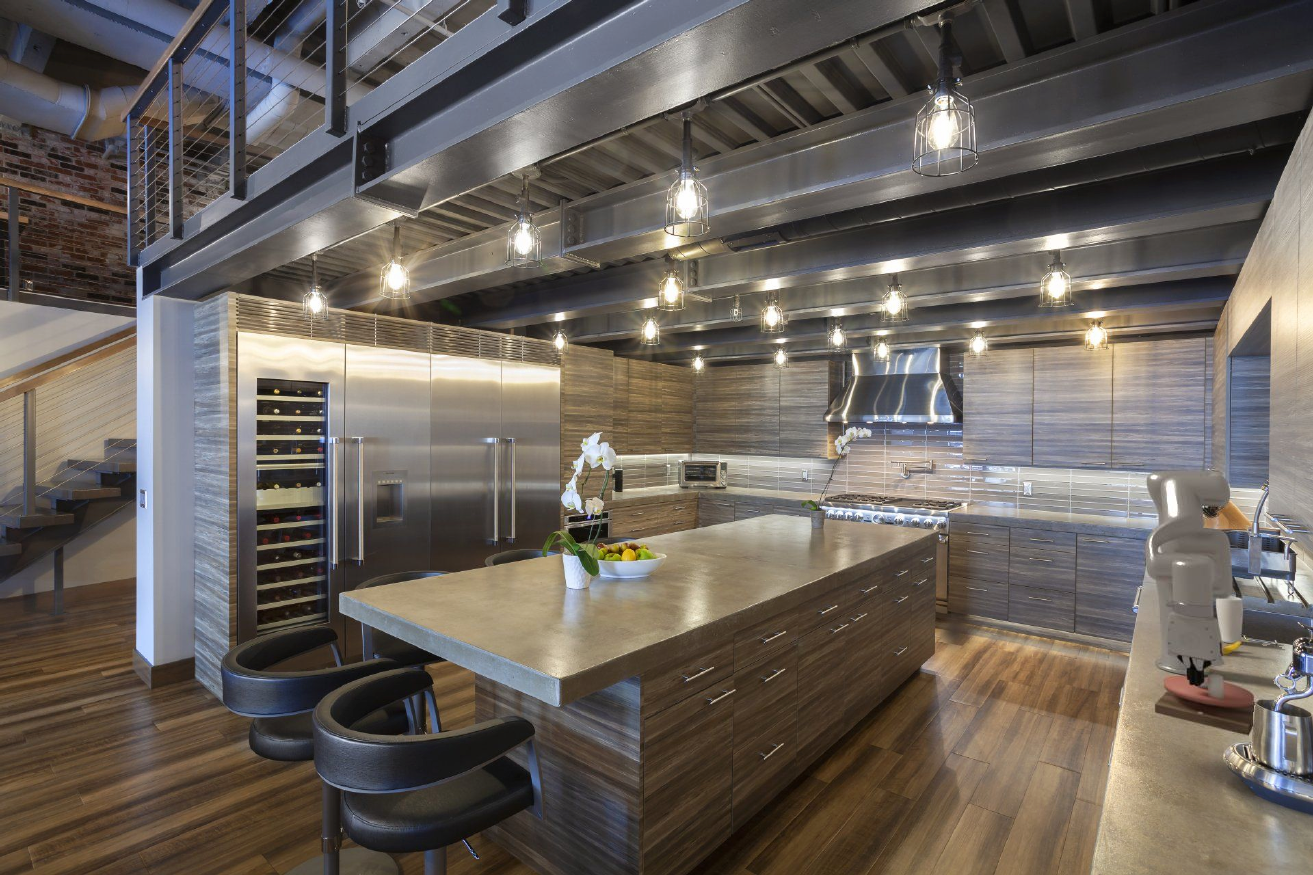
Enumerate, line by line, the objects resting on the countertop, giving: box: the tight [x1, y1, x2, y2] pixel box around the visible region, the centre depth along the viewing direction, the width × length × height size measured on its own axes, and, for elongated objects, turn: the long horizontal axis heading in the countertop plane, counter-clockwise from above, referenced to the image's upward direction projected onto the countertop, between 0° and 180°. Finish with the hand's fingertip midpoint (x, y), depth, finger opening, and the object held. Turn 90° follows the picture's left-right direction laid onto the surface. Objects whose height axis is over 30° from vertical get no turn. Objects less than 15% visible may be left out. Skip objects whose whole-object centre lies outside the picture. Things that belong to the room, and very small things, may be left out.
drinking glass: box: [1215, 595, 1244, 645], centre depth 212 cm, size 7×7×15 cm
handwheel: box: [1163, 673, 1255, 707], centre depth 157 cm, size 17×17×6 cm
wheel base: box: [1154, 690, 1256, 736], centre depth 157 cm, size 20×17×4 cm
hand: (1195, 684), depth 154 cm, fingers closed
